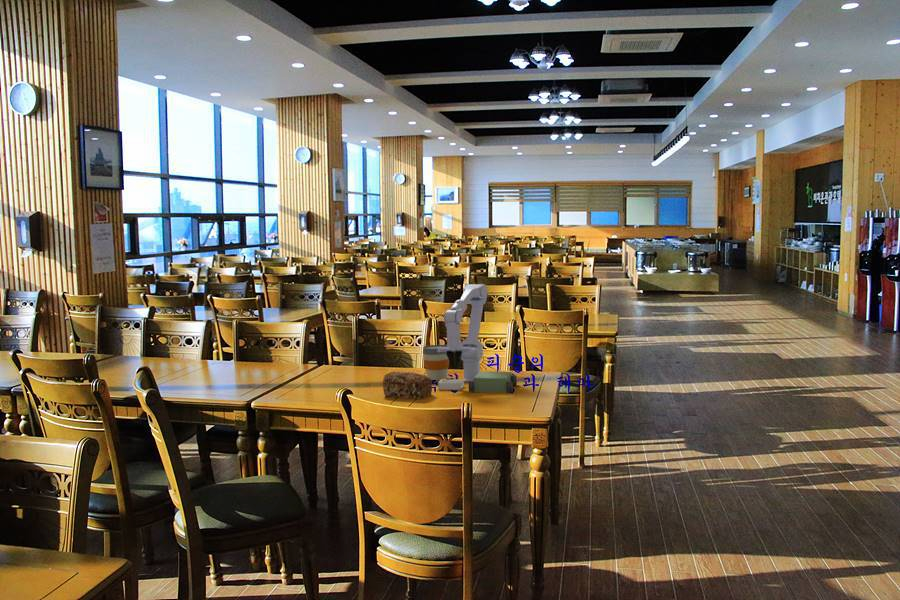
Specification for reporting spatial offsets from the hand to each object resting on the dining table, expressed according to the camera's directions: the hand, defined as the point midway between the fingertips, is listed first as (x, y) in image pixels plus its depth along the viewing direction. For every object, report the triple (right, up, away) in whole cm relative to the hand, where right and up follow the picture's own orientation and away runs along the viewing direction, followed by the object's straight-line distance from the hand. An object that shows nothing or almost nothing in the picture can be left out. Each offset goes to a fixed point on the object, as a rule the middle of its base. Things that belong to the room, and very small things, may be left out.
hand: (454, 368), depth 333 cm
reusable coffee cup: (-8, -7, +22) cm, 25 cm away
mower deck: (+16, -8, -5) cm, 19 cm away
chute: (-2, -8, -1) cm, 9 cm away
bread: (-20, -11, -12) cm, 25 cm away
